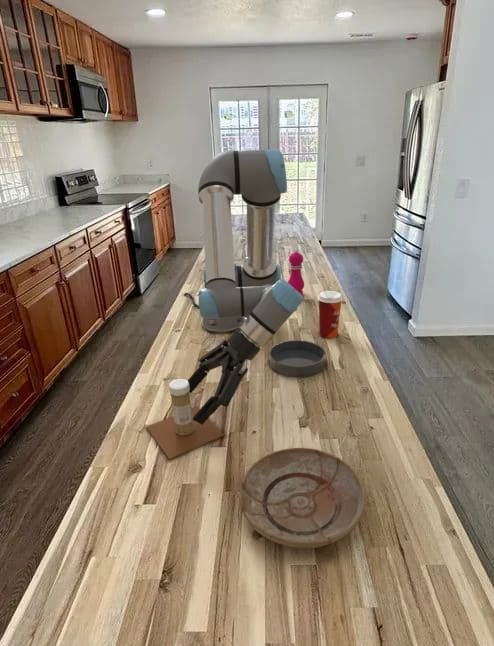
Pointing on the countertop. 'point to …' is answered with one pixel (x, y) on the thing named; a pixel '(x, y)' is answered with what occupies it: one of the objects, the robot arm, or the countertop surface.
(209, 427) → the cork mat
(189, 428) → the sprinkles bottle
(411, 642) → the countertop surface
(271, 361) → the pan
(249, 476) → the ceramic bowl
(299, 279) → the pepper mill
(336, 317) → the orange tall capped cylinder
